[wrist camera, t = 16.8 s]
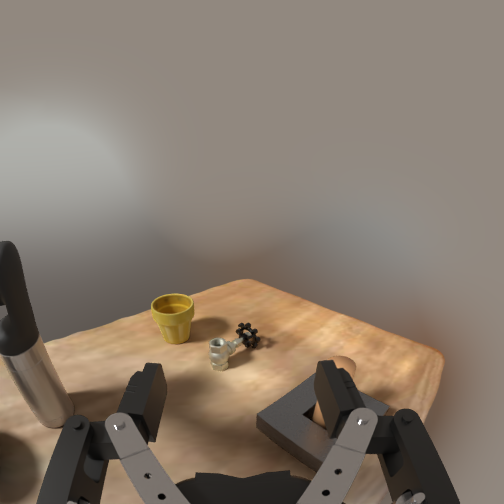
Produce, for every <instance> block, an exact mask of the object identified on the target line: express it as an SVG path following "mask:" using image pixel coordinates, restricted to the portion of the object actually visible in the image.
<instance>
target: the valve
mask: <svg viewBox="0 0 504 504" xmlns="http://www.w3.org/2000/svg"><path fill="white" fill-rule="evenodd" d="M238 327H241V329H240V328H239V329H237V330H236V333H237V334H239V338H237V339H235V340H233V341H232V342H230V341H227V342H226V341H225V339H223V338H214V339H212V340H210V341H209V348H210V350H209V359H210V360H211V365H212V368H213V370H216V371H224V370H225V369H226V368H228V361H227V360H228V358H229V355H232V354H233V353H235V351H236V348H237V347H239V346H241V345H242V343H243V344H244V345H245V347H247V348H248V347H250V346H251V344H252V345H253V346H252V348H256V347H257V346H258V345H257V343H258V342H259V341H260V338H259V337H256V333H257V332H258V331H257V329H253V330H252V329H251V328H250V327H251V324H250V323H247V324H245V326H244V324H243V323H240V324H239V325H238ZM244 329H246V330H248V331H249V332H250V333H251V334H252V335H251V334H250V333H249V332H246V333H243V331H244ZM252 337H253V341H249V339H250V338H252Z"/></svg>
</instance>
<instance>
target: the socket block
mask: <svg viewBox="0 0 504 504" xmlns="http://www.w3.org/2000/svg"><path fill="white" fill-rule="evenodd" d="M315 374H316V372H315V373H314V374H313V375H312V376H310V377H309V378H308V379H306V380H305V381H304V382H302V383H301V384H300V385H298V386H297V387H296V388H294V389H293V390H292V391H290V392H289V393H287V394H286V395H284V396H283V397H282V398H280V399H279V400H277V401H276V402H274V403H273V404H271V405H270V406H268V407H267V408H265V409H264V410H262V411H261V412H259V413H258V414H257V423H256V428H258V429H259V430H260V431H261V432H263V433H264V434H265V435H266V436H268V437H269V438H270V439H271V440H273V441H274V442H275V443H276V444H278V445H279V446H280V447H282V448H283V449H284V450H286V451H287V452H288V453H290V454H291V455H293V456H294V457H295V458H297V459H298V460H299V461H301V462H302V463H304V464H305V465H307V466H308V467H310V468H311V469H313V470H314V471H316V472H318V470H319V469H320V467H321V466H322V464H323V462H324V461H325V459H326V457H327V455H328V454H329V452H330V450H331V448H332V447H333V445H334V444H335V443H336V441H337V438H333V439H330V438H329V435H328V432H327V430H325V429H324V428H322V427H321V426H319V425H317V424H316V423H314V422H313V421H311V420H310V418H312V417H313V414H314V410H315V406H316V402H317V398H316V395H315V391H314V379H315ZM358 392H359V394H360V396H361V398H362V400H363V402H364V404H365V406H366V408H368V409H371V410H372V411H374V412H375V413H376V415H379V416H385V415H386V413H387V411H388V409H389V407H390V406H388V405H386V404H384V403H382V402H380V401H378V400H376V399H374V398H372V397H370V396H368V395H366V394H364V393H362V392H360V391H358Z"/></svg>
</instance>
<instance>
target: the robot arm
mask: <svg viewBox="0 0 504 504" xmlns="http://www.w3.org/2000/svg"><path fill="white" fill-rule="evenodd" d="M2 305H6V308H7V312H8V315H7V316H5V317H4V318H2V319H1V320H0V357H1V359H2V361H3V363H4V365H5V367H6V368H7V370H8V372H9V374H10V376H11V378H12V379H13V381H14V383H15V385H16V386H17V388H18V390H19V391H20V393H21V395H22V396H23V398H24V399H25V401H26V402H27V404H28V405H29V407H30V409H31V410H32V411H33V413H34V414H35V416H36V417H37V419H38V420H39V421H40V423H41V424H43V425H44V426H46V427H50V428H56V427H60V426H63V425H64V427H63V429H62V432H61V434H60V436H59V439H58V441H57V444H56V447H55V449H54V452H53V454H52V457H51V460H50V463H49V465H48V468H47V471H46V474H45V477H44V480H43V483H42V486H41V490H40V493H39V496H38V500H37V503H36V504H100V500H101V495H102V490H103V485H104V480H105V476H106V471H107V467H108V463H109V460H111V459H120V462H121V464H122V466H123V467H124V469H125V471H126V473H127V475H128V477H129V478H130V480H131V482H132V483H133V485H134V487H135V489H136V490H137V492H138V493H139V495H140V497H141V498H142V500H143V501H144V503H145V504H345V503H344V502H342V501H343V499H344V498H345V496H346V494H347V492H348V490H349V488H350V486H351V484H352V482H353V480H354V478H355V476H356V474H357V472H358V470H359V468H360V466H361V464H362V461H363V459H364V457H365V454H377V455H378V458H379V461H380V464H381V467H382V470H383V473H384V476H385V479H386V482H387V485H388V489H389V492H390V495H391V498H392V501H393V503H392V504H460V502H459V499H458V497H457V494H456V492H455V490H454V487H453V485H452V483H451V481H450V478H449V476H448V474H447V472H446V470H445V467H444V465H443V463H442V461H441V459H440V457H439V455H438V453H437V451H436V449H435V447H434V445H433V442H432V440H431V439H430V437H429V435H428V433H427V431H426V429H425V427H424V425H423V423H422V421H421V419H420V417H419V415H418V414H417V413H416V412H415V411H413V410H411V409H401V410H399V411H397V412H396V413H395V415H394V416H379V415H376V413H375V412H374V411H372V410H371V409H368V408H366V406H365V404H364V402H363V400H362V398H361V396H360V394H359V392H358V390H357V388H356V386H355V384H354V382H353V379H352V377H351V375H350V373H348V372H347V371H346V370H345V369H344V368H337V367H336V364H335V362H334V360H324V361H319V362H318V364H317V369H316V374H315V379H314V391H315V395H316V398H317V401H318V404H319V407H320V410H321V413H322V416H323V420H324V423H325V426H326V429H327V432H328V435H329V438H330V439H333V438H337V441H336V443H335V444H334V445H333V447H332V448H331V450H330V452H329V454H328V455H327V457H326V459H325V461H324V462H323V464H322V466H321V467H320V469H319V470H318V472H317V474H316V475H315V477H314V478H313V480H312V481H310V480H308V479H305V478H302V477H298V476H291V475H290V470H288V471H278V472H266V473H263V474H259V475H255V476H251V477H247V478H238V477H233V476H228V475H223V474H219V473H197V472H196V475H195V478H190V479H186V480H183V481H181V482H179V483H177V484H174V483H173V481H172V480H171V479H170V477H169V476H168V475H167V473H166V472H165V470H164V469H163V467H162V466H161V465H160V463H159V462H158V460H157V459H156V457H155V456H154V454H153V453H152V451H151V450H150V448H149V447H148V446H147V445H148V441H149V442H156V437H157V433H158V428H159V424H160V420H161V416H162V411H163V407H164V403H165V399H166V395H167V384H166V380H165V377H164V373H163V369H162V365H161V364H158V363H146V364H145V367H144V369H143V372H140V371H137V372H136V373H135V374H134V375H133V376H132V377H131V378H130V381H129V383H128V386H127V388H126V392H125V393H124V395H123V398H122V400H121V403H120V405H119V408H118V410H117V413H114V414H112V415H110V416H109V417H108V418H107V419H106V421H98V422H89V421H88V419H87V418H86V417H84V416H82V415H74V416H73V414H74V405H73V403H72V401H71V399H70V397H69V396H68V394H67V392H66V390H65V388H64V386H63V384H62V382H61V380H60V378H59V376H58V374H57V372H56V370H55V368H54V366H53V364H52V362H51V360H50V357H49V355H48V353H47V351H46V348H45V346H44V344H43V341H42V339H41V336H40V334H39V331H38V328H37V326H36V322H35V318H34V314H33V310H32V307H31V303H30V300H29V296H28V292H27V288H26V283H25V279H24V274H23V269H22V264H21V260H20V257H19V253H18V251H17V249H16V247H15V245H14V244H13V243H12V242H10V241H2V242H0V306H2Z"/></svg>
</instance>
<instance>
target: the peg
mask: <svg viewBox="0 0 504 504" xmlns="http://www.w3.org/2000/svg"><path fill="white" fill-rule="evenodd" d="M328 360H334V362H335V364H336V367H337V368H344V369H345V370H346V371H347V372H348V373H350V375H351V377H352V379H353V377H354V374H355V370H356V364H355V362H354V361H353V360H351V359H350V358H348V357H345V356H334V357H331V358H329V359H328ZM312 421H313V422H314V423H316V424H317V425H319V426H321V427H322V428H324V429H325V430H327V429H326V426H325V423H324V420H323V416H322V413H321V410H320V407H319V404H318V401H317V402H316V406H315V410H314V414H313V418H312Z"/></svg>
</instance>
